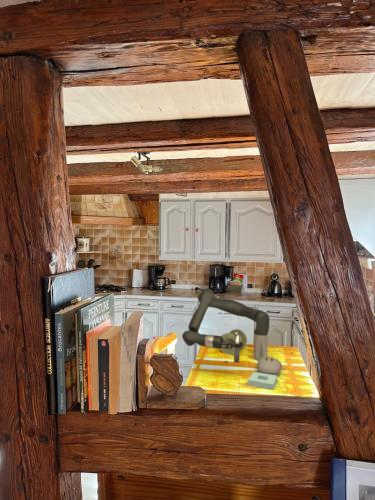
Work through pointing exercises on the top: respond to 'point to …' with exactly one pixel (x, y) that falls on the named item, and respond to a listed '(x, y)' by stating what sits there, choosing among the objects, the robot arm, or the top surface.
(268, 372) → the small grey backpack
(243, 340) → the spool
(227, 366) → the top surface
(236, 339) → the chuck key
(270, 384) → the block
